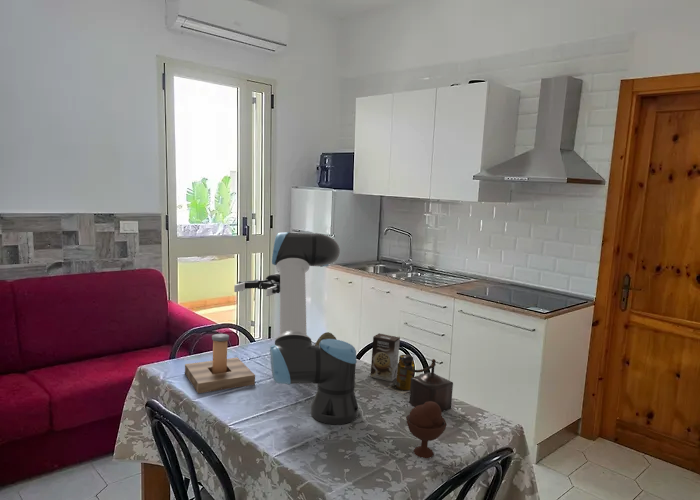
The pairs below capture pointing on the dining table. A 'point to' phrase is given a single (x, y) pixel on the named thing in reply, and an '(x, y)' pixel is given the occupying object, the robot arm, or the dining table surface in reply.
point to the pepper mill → (428, 386)
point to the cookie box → (385, 357)
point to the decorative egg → (325, 337)
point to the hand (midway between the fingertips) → (251, 290)
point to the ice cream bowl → (426, 426)
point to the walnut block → (219, 376)
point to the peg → (219, 353)
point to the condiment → (402, 378)
